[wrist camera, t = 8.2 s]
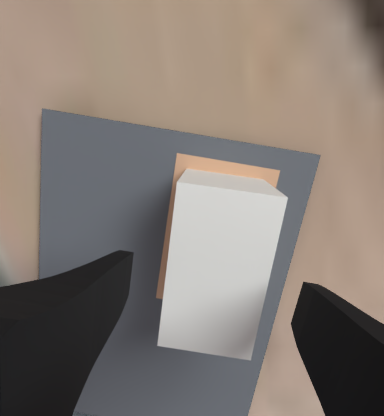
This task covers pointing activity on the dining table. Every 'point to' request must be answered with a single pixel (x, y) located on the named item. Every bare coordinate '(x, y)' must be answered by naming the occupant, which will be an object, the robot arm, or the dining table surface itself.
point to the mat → (153, 252)
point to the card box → (219, 262)
